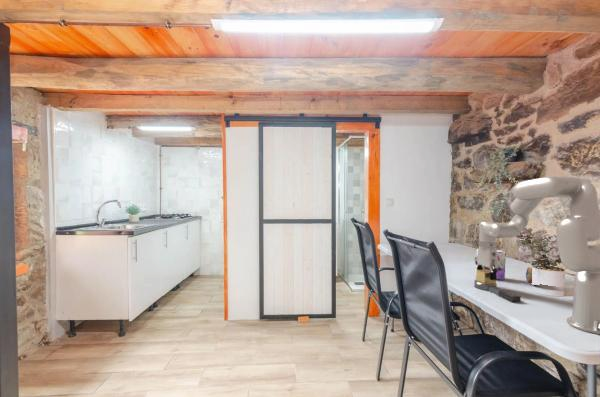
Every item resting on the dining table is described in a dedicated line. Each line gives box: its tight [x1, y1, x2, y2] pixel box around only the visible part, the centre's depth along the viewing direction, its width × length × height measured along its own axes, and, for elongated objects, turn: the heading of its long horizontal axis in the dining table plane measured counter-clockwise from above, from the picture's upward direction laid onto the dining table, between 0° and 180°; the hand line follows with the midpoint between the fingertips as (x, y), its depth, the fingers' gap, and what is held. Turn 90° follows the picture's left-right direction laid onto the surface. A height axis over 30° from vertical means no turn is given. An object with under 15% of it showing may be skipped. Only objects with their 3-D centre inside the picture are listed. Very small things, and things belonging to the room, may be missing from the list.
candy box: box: [474, 248, 507, 281], centre depth 177 cm, size 14×6×16 cm, turn 76°
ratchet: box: [474, 279, 522, 303], centre depth 151 cm, size 25×10×7 cm, turn 6°
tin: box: [525, 267, 533, 285], centre depth 167 cm, size 15×3×8 cm, turn 160°
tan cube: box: [475, 269, 497, 284], centre depth 158 cm, size 6×6×6 cm
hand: (486, 277), depth 158 cm, fingers open, 9 cm apart
